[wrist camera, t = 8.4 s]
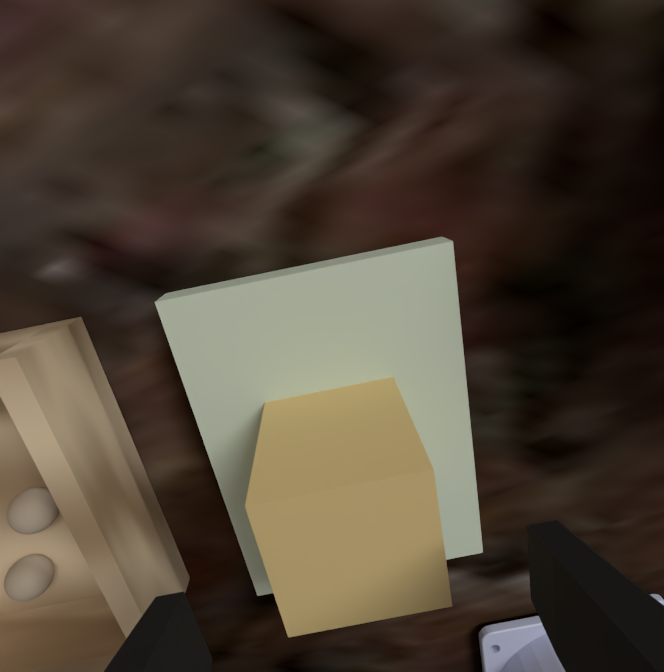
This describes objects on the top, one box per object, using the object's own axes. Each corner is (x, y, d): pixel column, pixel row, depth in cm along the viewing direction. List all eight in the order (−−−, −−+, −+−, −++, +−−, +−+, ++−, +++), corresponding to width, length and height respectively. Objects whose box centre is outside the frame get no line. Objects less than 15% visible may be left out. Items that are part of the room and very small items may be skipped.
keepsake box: (189, 577, 17) (164, 662, 14) (-8, 616, 17) (-73, 708, 14) (81, 316, 13) (15, 356, 10) (-170, 367, 13) (-307, 422, 10)
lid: (468, 521, 17) (546, 688, 12) (261, 562, 17) (239, 746, 12) (437, 234, 13) (532, 275, 8) (170, 289, 13) (72, 368, 8)
